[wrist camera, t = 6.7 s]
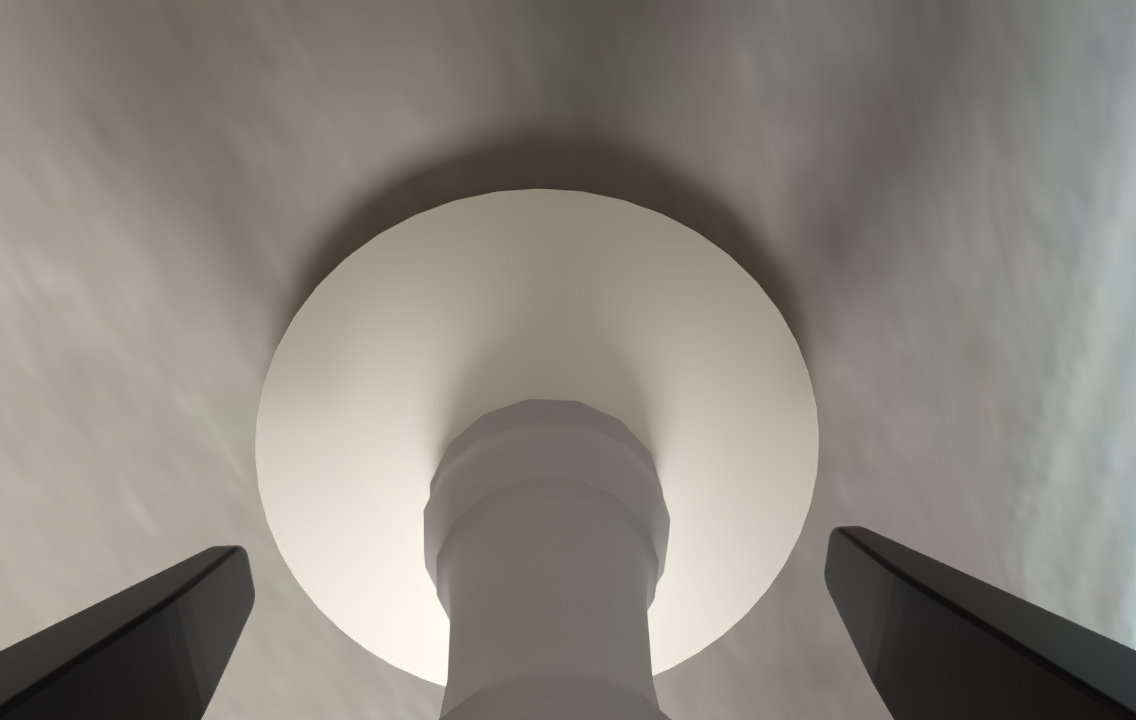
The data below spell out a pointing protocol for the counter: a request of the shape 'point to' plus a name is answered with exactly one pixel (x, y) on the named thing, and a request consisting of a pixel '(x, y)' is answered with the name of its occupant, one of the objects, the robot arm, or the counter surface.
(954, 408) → the counter surface
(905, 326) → the counter surface
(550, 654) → the rook chess piece
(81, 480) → the counter surface
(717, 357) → the dish
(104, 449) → the counter surface
